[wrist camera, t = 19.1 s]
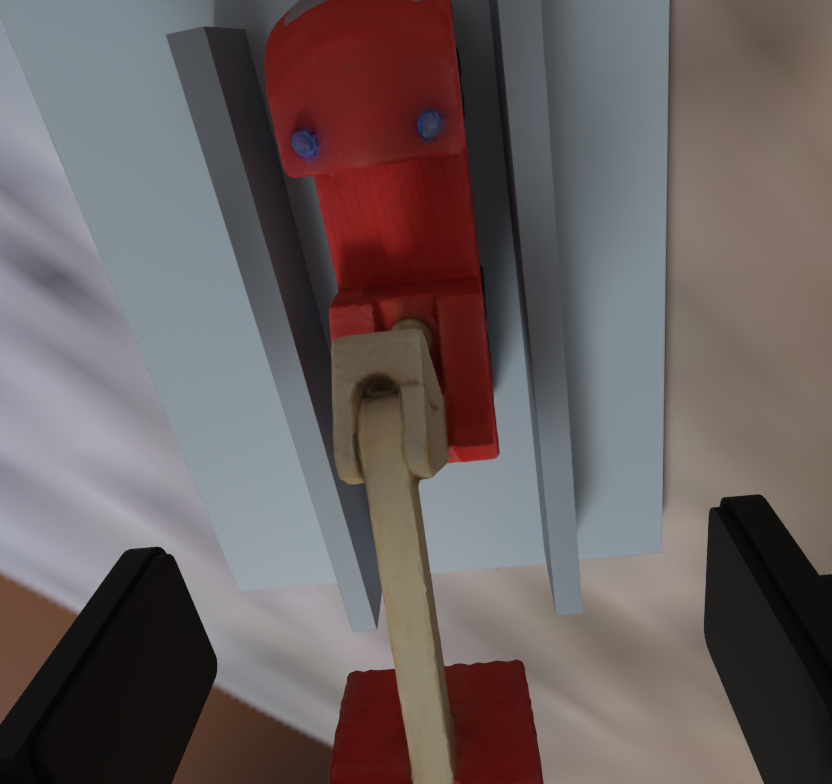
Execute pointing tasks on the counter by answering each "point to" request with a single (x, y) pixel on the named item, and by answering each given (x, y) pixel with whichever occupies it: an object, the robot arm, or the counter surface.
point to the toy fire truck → (401, 360)
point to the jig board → (317, 286)
